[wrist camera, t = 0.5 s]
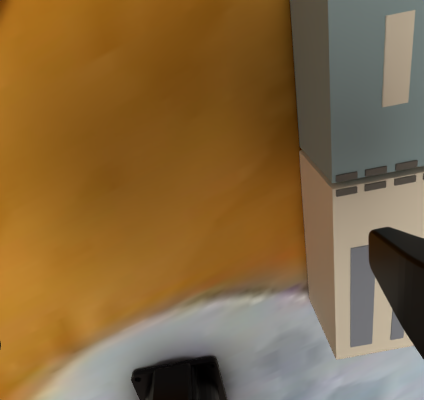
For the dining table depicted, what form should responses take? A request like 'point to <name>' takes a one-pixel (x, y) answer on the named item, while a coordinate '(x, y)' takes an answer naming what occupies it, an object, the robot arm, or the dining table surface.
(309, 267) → the block
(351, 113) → the stub
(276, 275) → the dining table surface
